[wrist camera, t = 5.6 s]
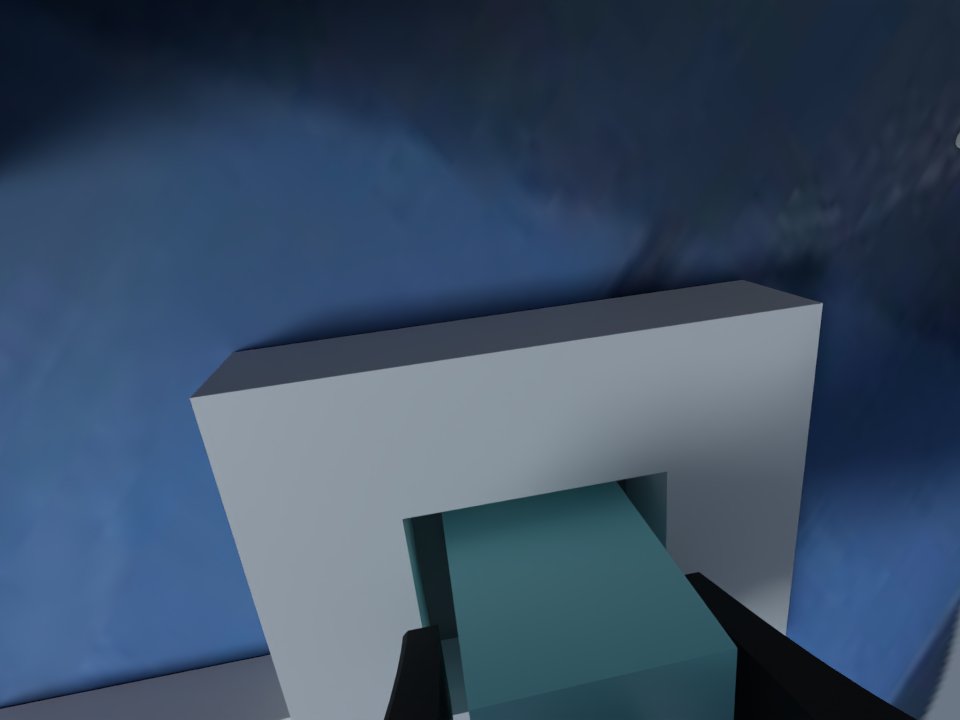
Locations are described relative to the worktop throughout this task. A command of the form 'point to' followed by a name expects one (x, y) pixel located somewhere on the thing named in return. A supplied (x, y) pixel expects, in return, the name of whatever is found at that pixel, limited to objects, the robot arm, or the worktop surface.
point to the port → (502, 462)
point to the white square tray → (174, 697)
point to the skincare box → (958, 141)
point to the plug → (581, 614)
